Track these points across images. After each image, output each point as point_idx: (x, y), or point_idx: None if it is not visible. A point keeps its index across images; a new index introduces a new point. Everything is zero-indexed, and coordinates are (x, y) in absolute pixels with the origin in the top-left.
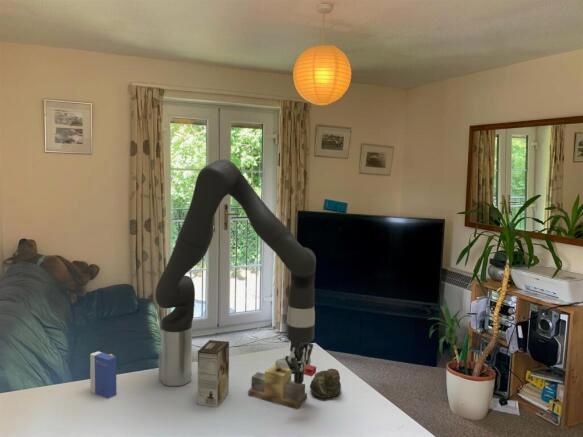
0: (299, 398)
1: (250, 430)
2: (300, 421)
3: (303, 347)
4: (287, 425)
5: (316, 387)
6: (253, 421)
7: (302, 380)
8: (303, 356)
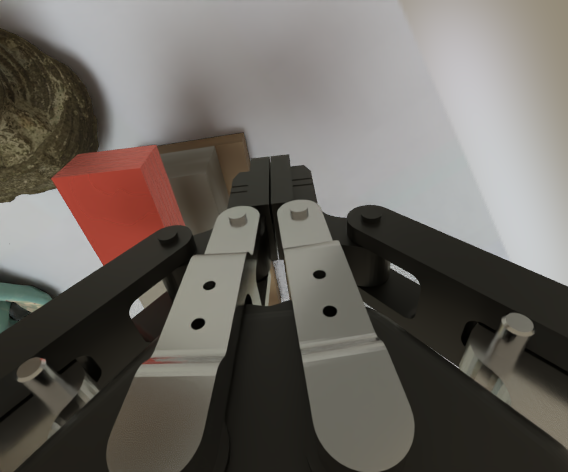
0: (213, 152)
1: (469, 183)
2: (322, 58)
3: (275, 467)
4: (380, 90)
5: (77, 133)
6: (411, 207)
7: (268, 162)
8: (321, 310)
